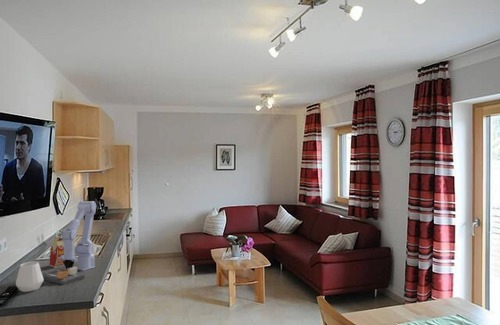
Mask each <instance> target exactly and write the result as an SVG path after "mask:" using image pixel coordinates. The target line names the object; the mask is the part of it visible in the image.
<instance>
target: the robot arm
mask: <svg viewBox="0 0 500 325" xmlns="http://www.w3.org/2000/svg"><path fill="white" fill-rule="evenodd" d="M96 209H97V204H96V201H94V200H92V201H91V200H90V201H86V200H80V201H79V202H78V204H77V212H76V213H75V216H74V217H73V219H72V220H70V221H69V224H68V226H67V227H66V229H65V230H63V231H62V233H61V238H62V240H63V243H64V255H61V256H60V257H61V259H62V260H65V261H63V263H64V265H65V266H64V268H65V270H67V268H71V267H74V264H75V263H78V266H77V271H82V272H84V271H88V270H91V269H94V268H96V266H95V261H96V260H95V255H94V243H93V241H91V234H92V228H93V222H94V215H95V214H96V211H97V210H96ZM83 217H84V221H83V225H82V226H83V227H82V234H81V239H79V241H77V243H76V246H75V239H76V238H77V233H78V232H77V230H78V229H79V226H80V225H81V223H80V221H81V220H82V218H83ZM75 254H76V256H78V257H76V256H75Z"/></svg>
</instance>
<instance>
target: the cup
mask: <svg viewBox="0 0 500 325" xmlns="http://www.w3.org/2000/svg"><path fill="white" fill-rule="evenodd" d="M42 273H43V272H42V269H41V266H40V263H39V261H27V262H24V263H21V264H20V265H19V269H18V273H17V277H16V280H15V286H16V288H17V289H19V291H20V292H23V293H26V292H28V293H29V292H32V291H36V290H39V289H40V288H41V286H42V284H43V283H44V280H45V279H43V275H42Z"/></svg>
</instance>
